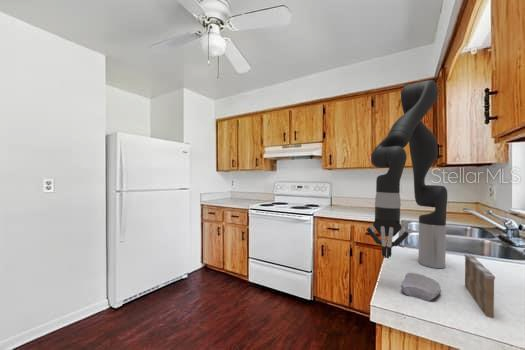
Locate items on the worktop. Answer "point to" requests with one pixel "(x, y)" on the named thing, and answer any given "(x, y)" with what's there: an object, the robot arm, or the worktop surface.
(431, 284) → the stone block
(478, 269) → the walnut wall board
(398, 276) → the worktop surface
